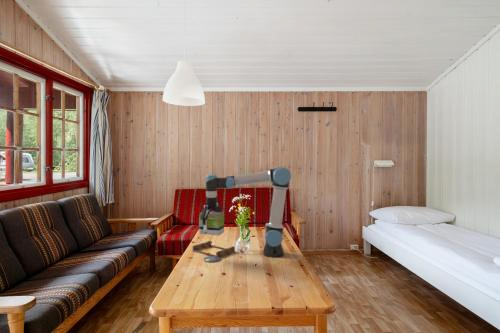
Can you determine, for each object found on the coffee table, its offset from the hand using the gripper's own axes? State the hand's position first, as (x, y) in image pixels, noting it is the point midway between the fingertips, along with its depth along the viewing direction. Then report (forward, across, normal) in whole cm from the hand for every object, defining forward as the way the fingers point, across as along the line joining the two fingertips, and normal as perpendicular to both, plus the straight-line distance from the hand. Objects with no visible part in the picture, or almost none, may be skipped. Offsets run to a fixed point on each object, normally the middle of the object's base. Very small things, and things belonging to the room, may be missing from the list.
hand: (211, 227), depth 217 cm
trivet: (+22, 0, 0) cm, 22 cm away
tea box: (+4, 0, 0) cm, 4 cm away
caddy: (+22, -14, -13) cm, 29 cm away
